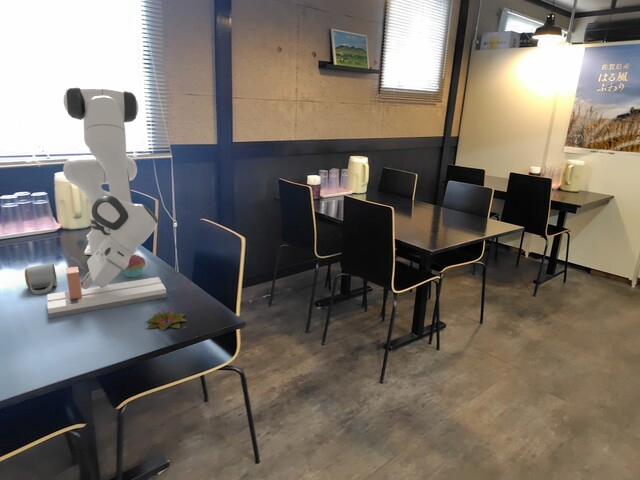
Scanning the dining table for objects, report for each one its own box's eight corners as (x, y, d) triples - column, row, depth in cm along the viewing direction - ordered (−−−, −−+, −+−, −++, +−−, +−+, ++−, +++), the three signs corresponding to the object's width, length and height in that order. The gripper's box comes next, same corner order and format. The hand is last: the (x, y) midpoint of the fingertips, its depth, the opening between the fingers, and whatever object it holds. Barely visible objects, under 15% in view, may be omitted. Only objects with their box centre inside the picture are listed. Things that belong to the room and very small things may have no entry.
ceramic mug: (28, 284, 143) (24, 263, 140) (57, 280, 147) (54, 259, 144) (26, 297, 134) (22, 274, 132) (57, 292, 138) (53, 270, 136)
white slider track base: (48, 303, 130) (47, 294, 129) (159, 285, 146) (158, 276, 145) (49, 318, 121) (47, 308, 120) (166, 297, 137) (165, 288, 137)
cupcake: (136, 280, 149) (133, 247, 146) (115, 277, 151) (111, 245, 148) (151, 271, 158) (148, 240, 154) (130, 269, 159) (127, 238, 156)
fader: (70, 298, 130) (66, 268, 127) (81, 296, 132) (77, 266, 129) (71, 304, 126) (66, 273, 123) (82, 302, 128) (78, 272, 125)
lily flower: (150, 313, 127) (149, 299, 126) (192, 313, 129) (191, 299, 127) (138, 333, 116) (137, 318, 115) (184, 333, 117) (183, 318, 116)
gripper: (102, 236, 137) (71, 269, 135) (110, 255, 121) (75, 293, 119) (119, 247, 141) (89, 280, 139) (129, 267, 124) (95, 305, 122)
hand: (82, 286), depth 129 cm, fingers closed, pressing on fader
